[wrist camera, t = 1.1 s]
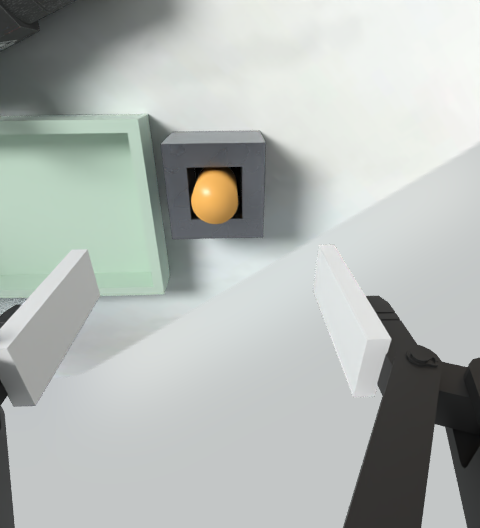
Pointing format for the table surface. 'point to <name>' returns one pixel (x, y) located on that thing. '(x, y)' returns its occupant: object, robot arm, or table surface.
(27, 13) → the laser sight
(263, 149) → the grey square holder
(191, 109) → the table surface
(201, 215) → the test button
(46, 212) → the tray
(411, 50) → the table surface
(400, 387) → the robot arm
